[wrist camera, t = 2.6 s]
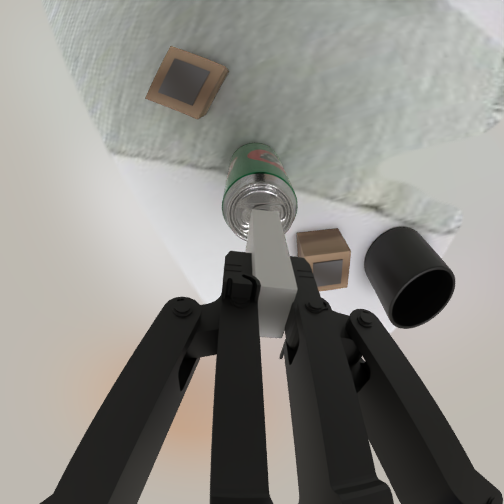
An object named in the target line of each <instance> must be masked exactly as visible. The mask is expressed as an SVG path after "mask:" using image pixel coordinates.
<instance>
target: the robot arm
mask: <svg viewBox="0 0 504 504" xmlns="http://www.w3.org/2000/svg"><path fill="white" fill-rule="evenodd" d="M284 331H285V335H286V339H285V342H284V345H283V348H282V351H281V354H280V359H282V358H283V355H284V357H285V366H286V374H287V382H288V391H289V400H290V408H291V417H292V426H293V436H294V445H295V455H296V465H297V475H298V486H299V503H298V504H394V503H393V497H392V493H391V490H390V488H389V487H388V485H387V484H386V483H384V482H383V481H381V480H379V479H378V477H377V475H376V472H375V468H374V463H373V458H372V453H371V449H370V445H369V441H370V443H371V445H372V447H373V449H374V451H375V453H376V455H377V457H378V459H379V461H380V463H381V465H382V467H383V469H384V471H385V473H386V475H387V477H388V479H389V481H390V483H391V485H392V487H393V489H394V491H395V493H396V495H397V497H398V499H399V501H400V503H401V504H502V503H503V498H502V494H501V492H500V491H499V490H498V489H497V488H496V487H495V486H493V485H492V484H491V483H490V482H489V481H487V480H486V479H485V478H484V477H483V476H482V475H481V474H479V473H478V472H477V471H476V470H475V469H474V467H473V465H472V464H471V462H470V460H469V458H468V456H467V455H466V453H465V451H464V449H463V447H462V445H461V444H460V442H459V440H458V438H457V437H456V435H455V433H454V432H453V430H452V428H451V426H450V425H449V423H448V421H447V420H446V418H445V416H444V415H443V413H442V412H441V410H440V408H439V407H438V405H437V404H436V402H435V400H434V399H433V397H432V396H431V394H430V393H429V391H428V390H427V388H426V386H425V385H424V383H423V382H422V380H421V379H420V377H419V376H418V374H417V373H416V371H415V370H414V368H413V367H412V365H411V364H410V363H409V361H408V360H407V358H406V357H405V356H404V354H403V352H402V351H401V350H400V348H399V347H398V345H397V344H396V342H395V341H394V340H393V338H392V337H391V336H390V334H389V333H388V331H387V330H386V329H385V327H384V326H383V324H382V323H381V322H380V320H379V319H378V318H377V317H376V316H375V315H374V314H373V313H371V312H370V311H368V310H364V309H356V310H354V311H352V313H351V314H350V316H347V315H344V314H341V313H337V312H335V311H333V310H332V309H331V307H330V305H329V303H328V302H327V301H326V300H324V299H323V298H321V297H320V294H319V291H318V287H317V284H316V281H315V278H314V275H313V273H312V269H311V266H310V264H309V263H308V262H307V261H306V259H305V258H302V257H292V256H290V255H289V251H288V247H287V243H286V239H285V235H284V231H283V228H282V224H281V220H280V216H279V212H272V211H264V210H256V209H252V211H251V218H250V225H249V231H248V238H247V245H246V252H236V251H230V252H229V253H228V254H227V255H226V256H225V265H224V275H223V286H222V293H221V296H220V297H219V298H218V299H217V300H216V301H214V302H212V303H209V304H204V305H199V304H198V303H197V302H196V301H195V300H193V299H191V298H188V297H176V298H173V299H171V300H169V301H168V302H167V303H166V304H165V305H164V307H163V308H162V310H161V311H160V313H159V315H158V316H157V317H156V319H155V320H154V322H153V324H152V325H151V327H150V328H149V330H148V331H147V333H146V334H145V336H144V337H143V339H142V340H141V342H140V344H139V345H138V347H137V349H136V350H135V351H134V353H133V355H132V356H131V358H130V359H129V361H128V362H127V364H126V366H125V367H124V369H123V371H122V372H121V374H120V376H119V377H118V379H117V380H116V382H115V384H114V385H113V387H112V389H111V390H110V392H109V393H108V395H107V397H106V399H105V400H104V402H103V404H102V405H101V407H100V409H99V410H98V412H97V414H96V416H95V417H94V419H93V421H92V422H91V424H90V426H89V428H88V430H87V431H86V433H85V435H84V437H83V438H82V440H81V442H80V444H79V446H78V447H77V449H76V451H75V453H74V455H73V457H72V458H71V460H70V462H69V464H68V466H67V468H66V470H65V472H64V474H63V475H62V478H61V479H60V481H59V483H58V485H57V488H56V489H55V491H54V493H53V494H52V495H51V496H49V497H48V498H47V499H46V500H44V501H43V502H41V503H40V504H137V502H138V500H139V498H140V495H141V493H142V491H143V488H144V486H145V484H146V481H147V479H148V477H149V475H150V472H151V470H152V468H153V465H154V463H155V460H156V458H157V456H158V454H159V451H160V449H161V446H162V444H163V442H164V440H165V438H166V435H167V433H168V431H169V428H170V426H171V424H172V422H173V419H174V417H175V415H176V412H177V410H178V408H179V406H180V403H181V401H182V399H183V396H184V394H185V392H186V389H187V387H188V385H189V383H190V380H191V378H192V376H193V373H194V371H195V369H196V367H197V364H198V362H199V360H200V357H205V356H210V355H216V354H217V359H216V374H215V389H214V406H213V425H212V446H211V473H210V474H211V475H210V504H273V502H272V500H271V498H270V495H269V486H268V467H267V451H266V433H265V416H264V400H263V383H262V367H261V350H260V337H270V338H282V336H283V333H284ZM362 356H363V357H364V359H365V361H366V362H365V361H364V360H363V359H362V358H361V357H362ZM368 439H369V441H368Z"/></svg>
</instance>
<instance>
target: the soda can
mask: <svg viewBox="0 0 504 504" xmlns="http://www.w3.org/2000/svg"><path fill="white" fill-rule="evenodd" d="M252 209H256V210H264V211H272V212H279V216H280V220H281V224H282V228H283V231H284V234H285V233H286V232H287V231H288V230H289V228H290V227H291V225H292V223H293V221H294V219H295V216H296V213H297V198H296V195H295V192H294V190H293V188H292V186H291V183H290V181H289V179H288V177H287V175H286V173H285V171H284V168H283V166H282V164H281V162H280V160H279V158H278V156H277V154H276V153H275V152H274V151H273V150H272V149H271V148H270V147H268V146H267V145H264V144H261V143H249V144H246V145H244V146H242V147H240V148H239V149H238V150H237V151H236V152H235V153H234V154H233V156H232V158H231V161H230V166H229V171H228V176H227V181H226V186H225V191H224V196H223V201H222V212H223V216H224V219H225V221H226V223H227V225H228V226H229V227H230V229H232V231H233V232H234V233H235V234H236V235H237V236H238V237H240V238H241V239H243V240H245V241H247V238H248V231H249V225H250V218H251V211H252Z"/></svg>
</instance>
